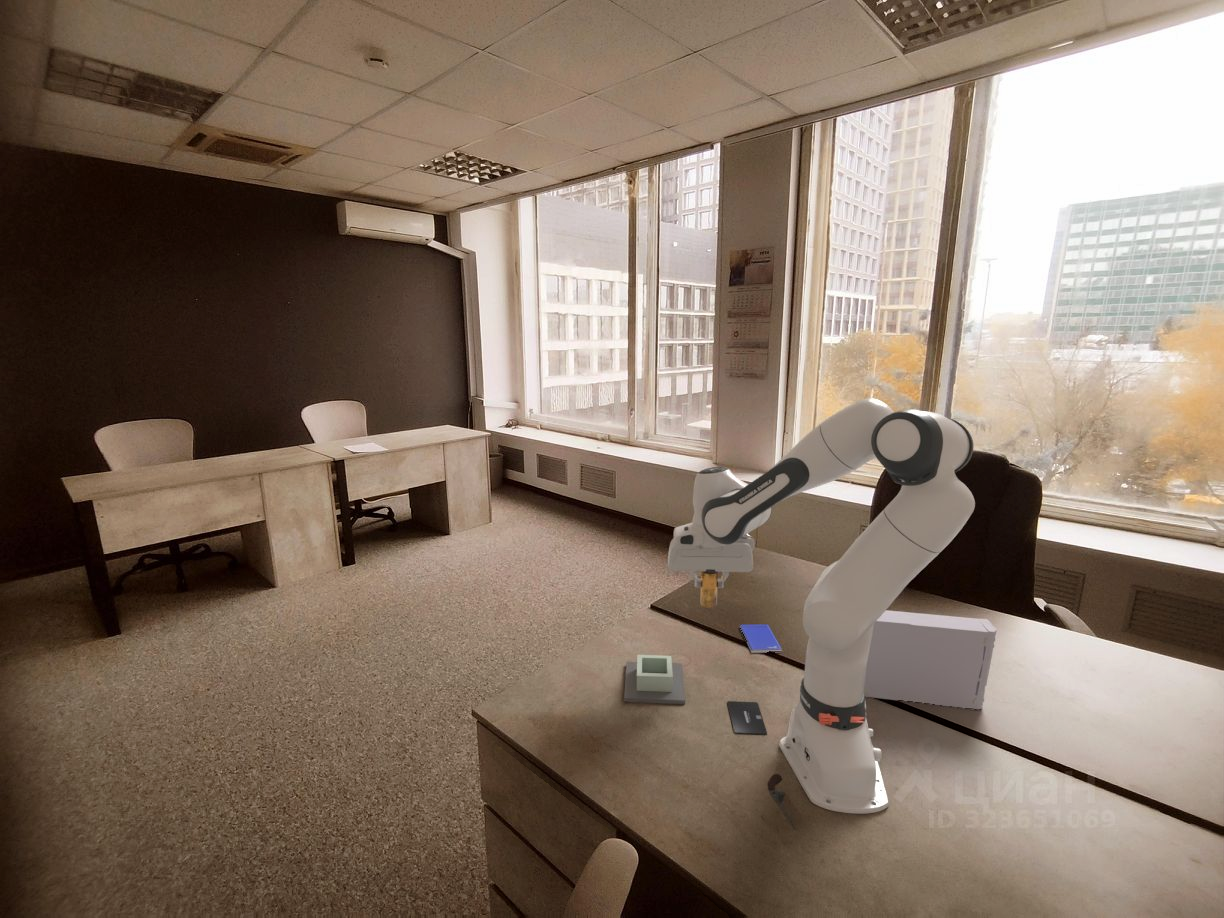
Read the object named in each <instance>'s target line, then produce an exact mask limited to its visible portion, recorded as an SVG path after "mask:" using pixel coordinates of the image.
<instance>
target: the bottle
mask: <svg viewBox="0 0 1224 918" xmlns="http://www.w3.org/2000/svg"><path fill="white" fill-rule="evenodd" d="M700 578H701V587H700V594H699V595H700V597H699V598H700V601H699V602H700V603H699V604H700V606H701V607H704V608H705V609H706V608H707V609H713V608H715V607H717V605H718V588H717V584H718V578H719V572H716V571H715V570H707V569H706V571H705V572H704V571H700Z"/></svg>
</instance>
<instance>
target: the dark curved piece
mask: <svg viewBox="0 0 1224 918" xmlns="http://www.w3.org/2000/svg"><path fill="white" fill-rule="evenodd" d="M782 780H783V777H782V775H781V774H779V773H774V774H773V775H771V777H770V778H769V780H768V782H767V789H768V791H769V792H770V795H771V797H772V798H773V799H774V800H775V801H776V802H777V804H778V806H779V807H780V809H781V811H782V812H783V814H784V816H785V817H786V818H787V820H788V822H789V823H790V825H791V827H792V828H793V829H794V831H797V828H796V826H795V824H794V823H793V822H792V819H791V818H790V816H789V814H788V812H787V811H786V810H785V808H784V807H783V805H782V804H783V802H784V799H785V797H786V793H785V792H783V791H781V792H778V791H777V790H776V786H777V785H778V784H780V782H782Z"/></svg>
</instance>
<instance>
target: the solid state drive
mask: <svg viewBox="0 0 1224 918" xmlns="http://www.w3.org/2000/svg"><path fill="white" fill-rule="evenodd" d="M726 703H727V708H728V711H729V717H730V720H731V721H730V723H731V725H732V730H733V733H734V734H735V735H760V736H761V735H762V736H767V735H768V731H767V729H766V728H767V727H766V724H765V722H764V719H763V715H762V712H761V709H760V705H759V703H758V702H757V701H738V700H737V701H735V700H734V701H733V700H728V701H726Z"/></svg>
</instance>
